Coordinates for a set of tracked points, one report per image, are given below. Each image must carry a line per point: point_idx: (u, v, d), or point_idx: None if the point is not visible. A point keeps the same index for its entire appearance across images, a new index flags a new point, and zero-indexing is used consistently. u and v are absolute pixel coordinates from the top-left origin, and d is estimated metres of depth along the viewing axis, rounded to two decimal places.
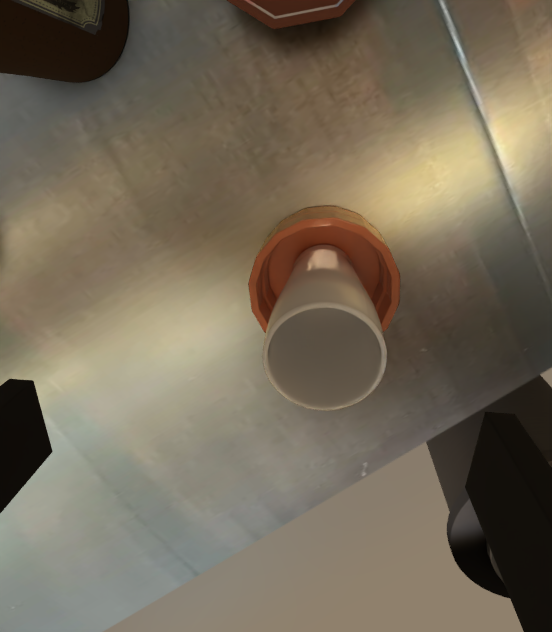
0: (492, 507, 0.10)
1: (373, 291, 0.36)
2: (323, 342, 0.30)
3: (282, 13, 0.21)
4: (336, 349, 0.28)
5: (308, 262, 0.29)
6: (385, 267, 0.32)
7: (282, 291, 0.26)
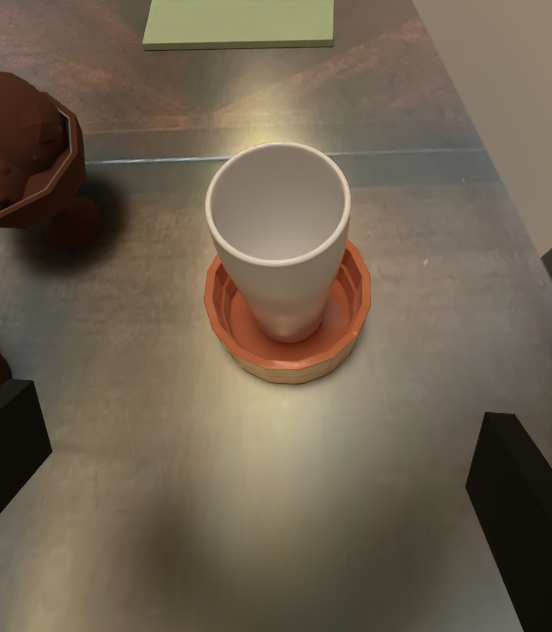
0: (492, 507, 0.10)
1: None
2: None
3: None
4: None
5: None
6: None
7: None
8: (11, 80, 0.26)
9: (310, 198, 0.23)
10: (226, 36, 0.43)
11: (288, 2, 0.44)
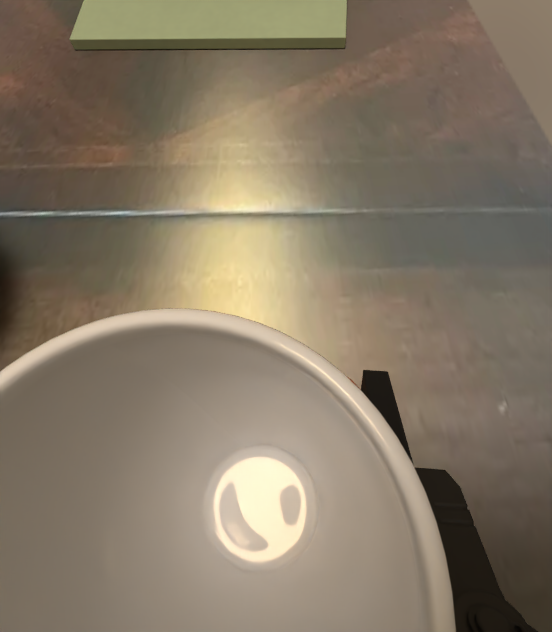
0: None
1: None
2: (331, 580, 0.11)
3: None
4: (349, 552, 0.10)
5: None
6: None
7: None
8: None
9: (296, 403, 0.09)
10: (190, 30, 0.29)
11: None
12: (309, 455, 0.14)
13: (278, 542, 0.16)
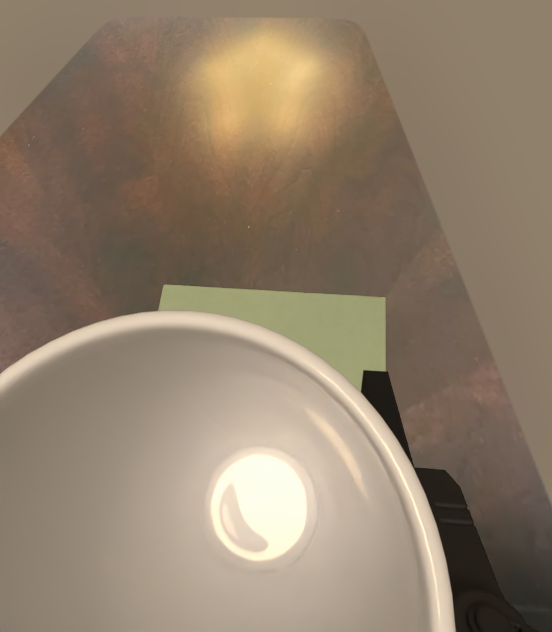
0: None
1: None
2: (331, 581, 0.11)
3: None
4: (349, 553, 0.10)
5: None
6: None
7: None
8: None
9: (296, 404, 0.09)
10: None
11: (328, 330, 0.35)
12: (309, 456, 0.14)
13: (278, 543, 0.16)
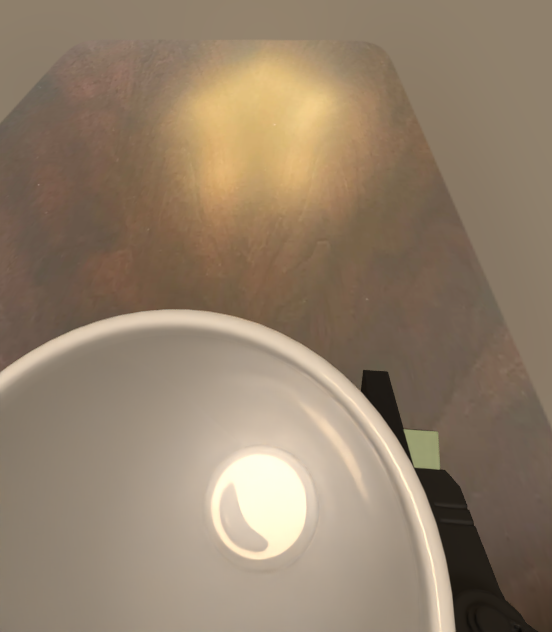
0: None
1: None
2: (331, 580, 0.11)
3: None
4: (349, 553, 0.10)
5: None
6: None
7: None
8: None
9: (296, 403, 0.09)
10: None
11: None
12: (309, 456, 0.14)
13: (278, 543, 0.16)
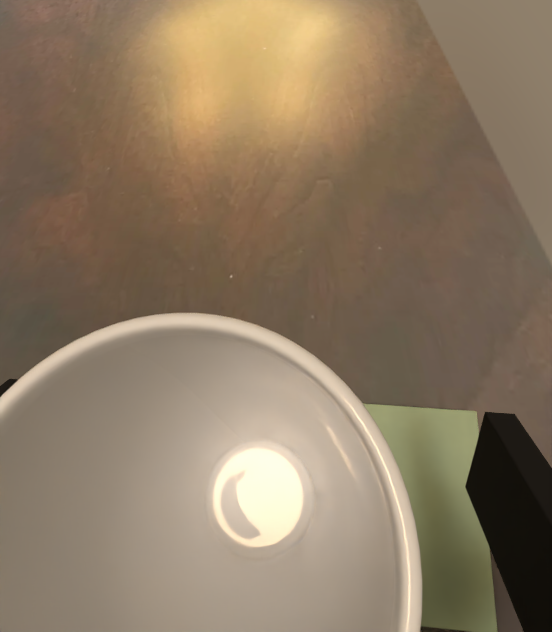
0: (492, 507, 0.10)
1: None
2: (325, 562, 0.11)
3: None
4: (341, 535, 0.11)
5: None
6: None
7: None
8: None
9: (292, 397, 0.09)
10: None
11: None
12: (305, 448, 0.14)
13: (276, 532, 0.17)
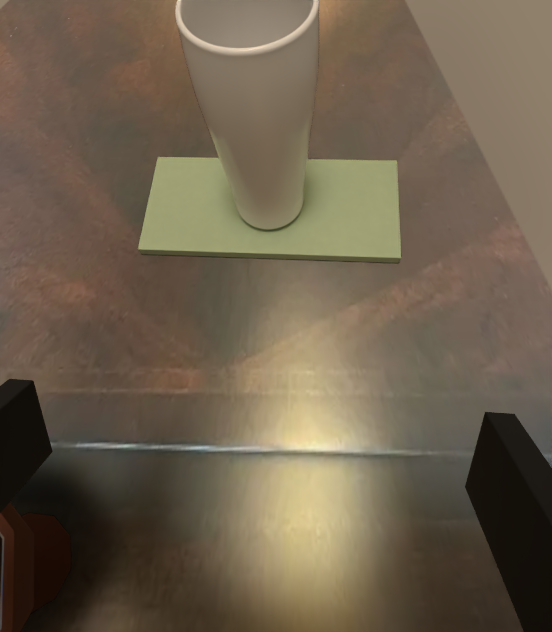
0: (492, 507, 0.10)
1: None
2: None
3: None
4: None
5: None
6: None
7: (201, 111, 0.23)
8: None
9: None
10: (253, 244, 0.31)
11: (336, 193, 0.33)
12: None
13: None
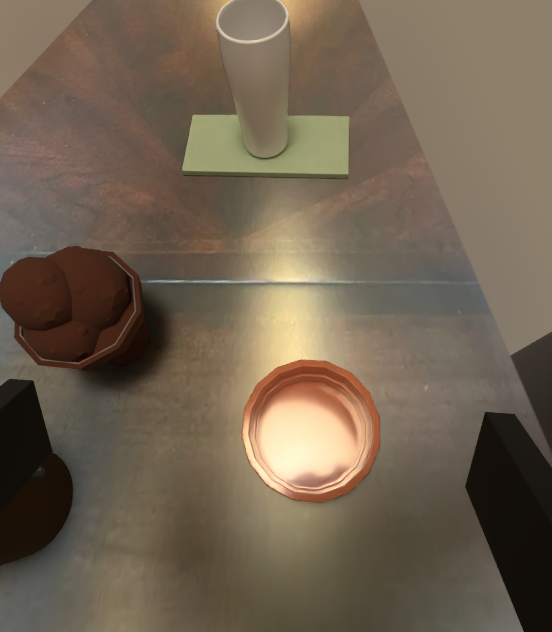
0: (492, 507, 0.10)
1: (347, 400, 0.39)
2: None
3: None
4: None
5: None
6: (323, 375, 0.38)
7: (226, 76, 0.41)
8: (92, 259, 0.32)
9: None
10: (255, 167, 0.49)
11: (309, 136, 0.51)
12: None
13: None
